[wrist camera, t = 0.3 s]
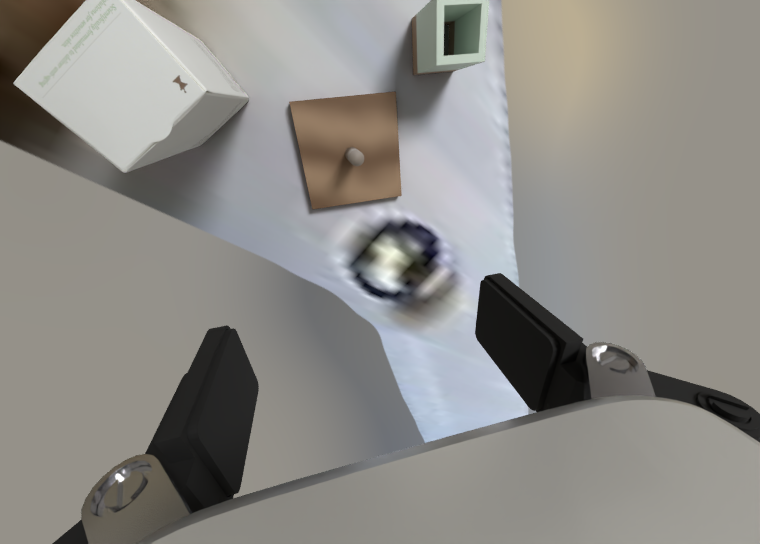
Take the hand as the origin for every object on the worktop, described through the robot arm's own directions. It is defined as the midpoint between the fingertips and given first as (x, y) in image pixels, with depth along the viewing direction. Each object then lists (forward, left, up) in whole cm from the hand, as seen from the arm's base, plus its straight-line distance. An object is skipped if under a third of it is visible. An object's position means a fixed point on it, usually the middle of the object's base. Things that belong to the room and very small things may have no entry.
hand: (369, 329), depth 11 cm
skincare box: (-10, -11, -30) cm, 34 cm away
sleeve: (-13, +15, -30) cm, 36 cm away
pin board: (-3, +4, -30) cm, 30 cm away
